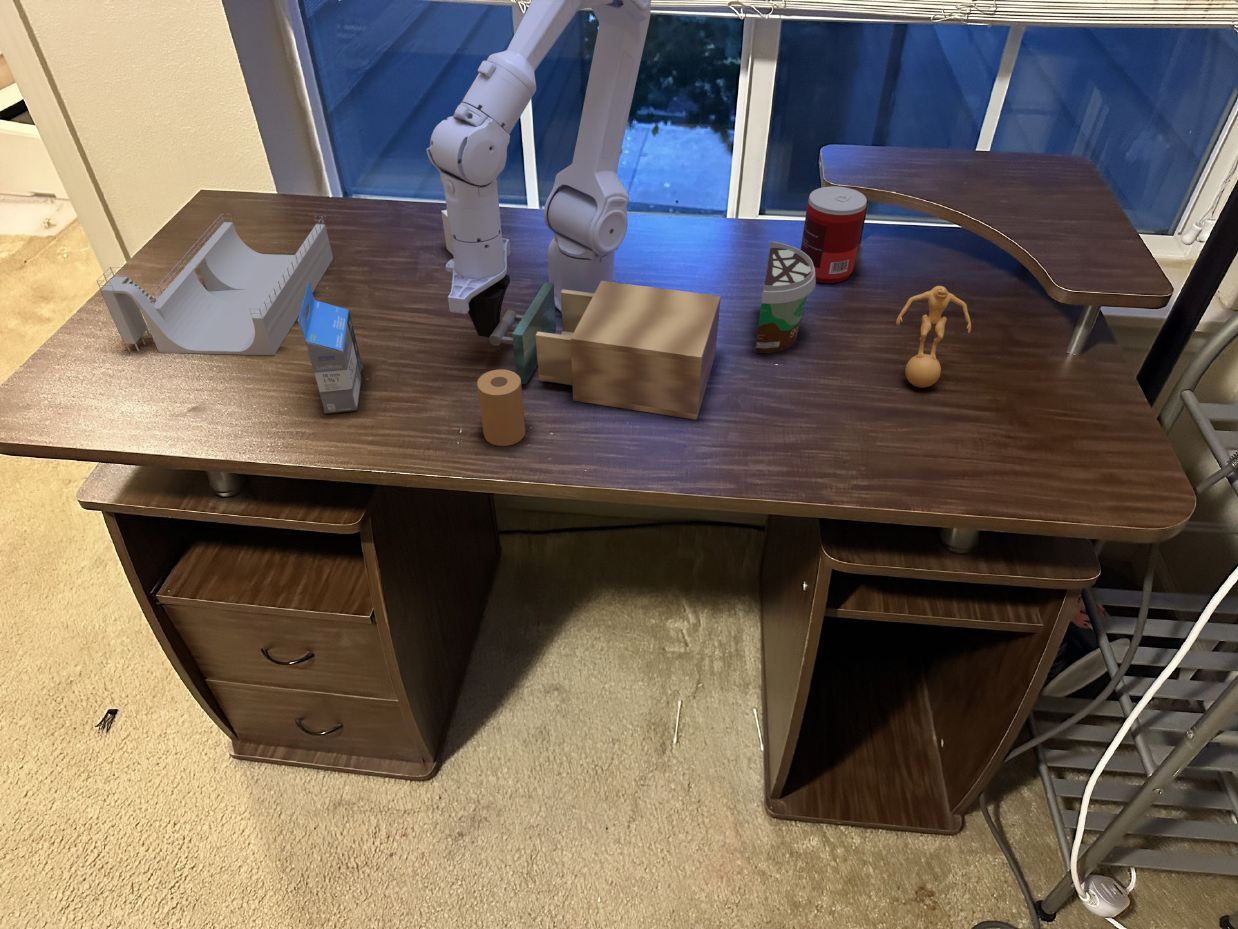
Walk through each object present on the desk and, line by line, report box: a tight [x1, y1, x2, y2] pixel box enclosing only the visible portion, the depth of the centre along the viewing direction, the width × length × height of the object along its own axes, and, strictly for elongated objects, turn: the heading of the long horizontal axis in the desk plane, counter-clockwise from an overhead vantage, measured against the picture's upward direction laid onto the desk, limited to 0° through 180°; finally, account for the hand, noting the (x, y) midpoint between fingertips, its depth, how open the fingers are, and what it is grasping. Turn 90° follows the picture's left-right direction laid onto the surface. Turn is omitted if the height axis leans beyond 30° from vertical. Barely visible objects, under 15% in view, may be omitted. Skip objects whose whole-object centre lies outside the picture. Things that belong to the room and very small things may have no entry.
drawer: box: [488, 282, 595, 386], centre depth 102 cm, size 18×12×7 cm
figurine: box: [895, 285, 972, 389], centre depth 99 cm, size 8×6×12 cm
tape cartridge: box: [297, 281, 364, 415], centre depth 97 cm, size 9×4×12 cm, turn 9°
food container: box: [754, 241, 817, 354], centre depth 107 cm, size 12×6×10 cm, turn 168°
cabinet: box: [571, 281, 722, 420], centre depth 100 cm, size 15×13×9 cm
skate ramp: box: [96, 213, 334, 356], centre depth 112 cm, size 25×19×10 cm
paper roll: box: [476, 369, 526, 447], centre depth 93 cm, size 5×5×7 cm
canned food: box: [800, 185, 868, 284], centre depth 119 cm, size 8×8×11 cm
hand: (487, 334), depth 104 cm, fingers closed, pressing on drawer
